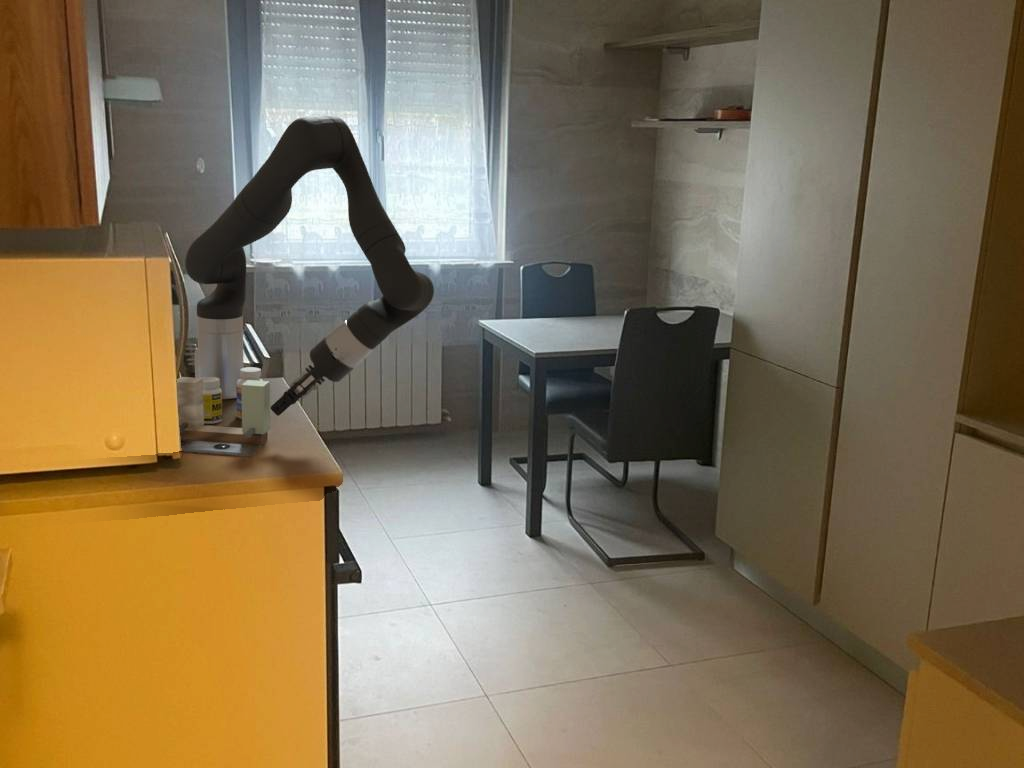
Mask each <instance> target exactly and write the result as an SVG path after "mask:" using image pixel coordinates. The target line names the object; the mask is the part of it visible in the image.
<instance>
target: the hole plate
mask: <svg viewBox="0 0 1024 768" xmlns="http://www.w3.org/2000/svg"><path fill="white" fill-rule="evenodd" d="M260 447H261V446H260V445H255V444H242V443H229V442H215V441H202V440H188V439H181V448H182V452H181V453H185V452H186V453H193V452H197V453H196V454H207V453H210V454H209V455H220V454H226V455H225V456H233V455H235V456H236V457H237V456H239V457H246V456H247V457H248V456H249V458H251V457H252V456H253V455H254V454H255V453H256V452H258V450H259V449H260ZM212 453H214V454H212ZM253 453H254V454H253ZM235 456H234V457H235Z"/></svg>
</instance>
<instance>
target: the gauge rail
mask: <svg viewBox="0 0 1024 768" xmlns="http://www.w3.org/2000/svg"><path fill="white" fill-rule="evenodd" d="M176 380H177V390H178V413H179V427H180V436H181V439H188V440H202V441H215V442H229V443H242V444H255V445H260V447H262V446H263V445H264V444H266V442H268V431H267V432H266V433H265V434H253V435H252V436H250V437H249V438H245V434H244V433H242V427H235V426H233V427H231V426H221V425H220V426H218V425H208V424H206V425H205V424H204V410H203V378H195V377H188V376H181V377H179V378H177V379H176Z"/></svg>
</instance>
